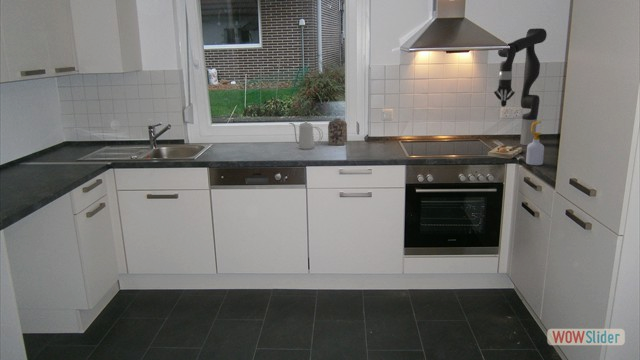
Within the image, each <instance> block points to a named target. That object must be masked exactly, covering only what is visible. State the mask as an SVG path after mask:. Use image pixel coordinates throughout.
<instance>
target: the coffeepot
mask: <svg viewBox="0 0 640 360" xmlns="http://www.w3.org/2000/svg"><path fill="white" fill-rule="evenodd" d="M288 125H292V126H293V127H294V128H293V129H294V136H295V137H294V139H295V142H296V144H298V148H299V150H312V149H315V145H317V144H319V143H320V142H321V141H322V139H323V135H324V131H323V130H322V129H321V128H320V127H318V126H313V124H312V123H310V122H308V121H307V120H305V121H303V122H301V123H300V125H298V127H299V130H298V131H299V133H298V135H299V136H298V137H297V130H296V124H294V123H292V122H289V123H288ZM314 129H316V130H317V131H318V134H319V138H318V140H317V142H316V143H315V138H314V137H315V136H314ZM297 138H298V139H297Z"/></svg>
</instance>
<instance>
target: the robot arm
mask: <svg viewBox="0 0 640 360" xmlns="http://www.w3.org/2000/svg"><path fill="white" fill-rule="evenodd" d="M547 36H548V35H547V31H546V29H545V28H538V27H537V28H530V29H528V30H527V32H526V36H525V37H521V38H518V39H516V40H514V41H513V42H509V43H507V44H508V45H509V46H510V49H503V50H498V49H497V54H498V56H499V57H501V58H506V59H505V60H504V61H501V62H500V64H499V65H500V66H499V75H498V88H497V90H495V91H493V94H494V95H495V96H496V97H497V99H498V100H500V101H501V102H500V105H501V107H506V106H507V103H508V102H507V101H508V100H510V99H511V98H513V96H515V93H516V91H514V90H513V89H512V80H513V79H512V77H513V73H512V71H513V63H514V61H515V60H514V59H515V57H516V55H517V54H516V53H519V52H521V51H522V50H525V62H524V72H523V73H524V74H523V75H524V76H523V84H522V85H523V86H522V91H521V96H520V106H521V108H522V109H528V110H529V109H530V111H529V112H526V113H523V114H522V117H521V129H520V131H521V132H520V142H519V143H520V145H521V146H528V145H529V144H530V143H532V142H533V138H535V136H534V134H533V133H537V125H538V124H535V125H534V126H533V133H531V125H532V123H534V122H537V121H538V115H539V108H540V107H539V106H540V96H539V95H537V94H530V90H531V88H532V85H533V84H534V83H535V82H536V81H537V79H538V78H539V76H540V71H541V70H540V69H541V62H540V60H539V58H538V56H537V54H536V50H535V45H537V44H538V45H539V44H542V43H543V42H545V41H546V38H547ZM508 95H509V96H508Z"/></svg>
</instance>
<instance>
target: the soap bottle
mask: <svg viewBox="0 0 640 360" xmlns="http://www.w3.org/2000/svg"><path fill="white" fill-rule="evenodd" d="M541 123H542V120H537V122H534V123H532V125H531V133H533V126H534V125H535V124H537V125H538V124H541ZM533 134H534V136H535V138H533V142H532V143H530V144H529V145H526V157H525V158H526V159H525V163H526V164H527V165H530V166H541V165H543V164H544V154H545V153H544V152H545V146H544V144H542V143H541V142H540V137H539V136H540V135H542V133H541V132H536V133H533Z"/></svg>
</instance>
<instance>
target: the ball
mask: <svg viewBox="0 0 640 360" xmlns="http://www.w3.org/2000/svg"><path fill="white" fill-rule="evenodd" d="M498 152H500V153H507V150H506V148H503V147H502V148H500V149H499V151H498Z"/></svg>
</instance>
